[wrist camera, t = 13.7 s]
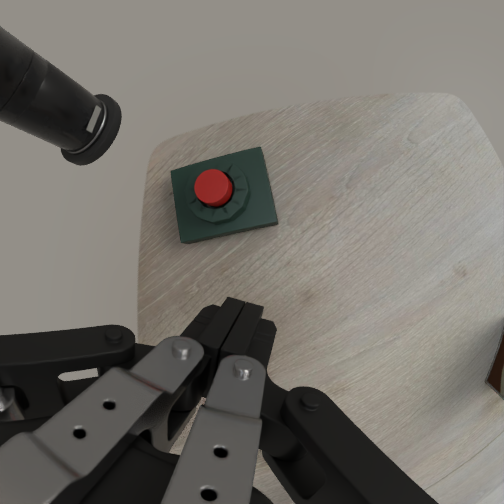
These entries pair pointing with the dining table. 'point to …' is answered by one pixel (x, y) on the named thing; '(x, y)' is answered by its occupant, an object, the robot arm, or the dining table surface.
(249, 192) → the control block
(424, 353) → the dining table surface
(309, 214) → the dining table surface
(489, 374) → the cake slice
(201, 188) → the button
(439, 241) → the dining table surface
